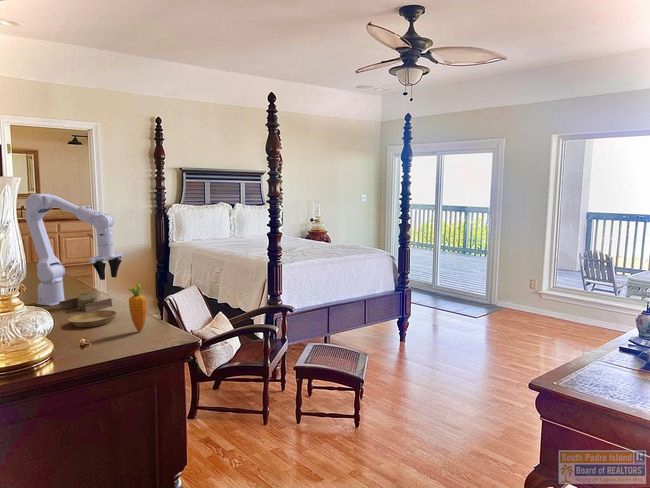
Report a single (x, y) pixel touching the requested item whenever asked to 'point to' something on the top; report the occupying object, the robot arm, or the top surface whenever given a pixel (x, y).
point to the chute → (87, 307)
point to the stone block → (86, 300)
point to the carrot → (137, 307)
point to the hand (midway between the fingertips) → (108, 278)
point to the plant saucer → (92, 318)
